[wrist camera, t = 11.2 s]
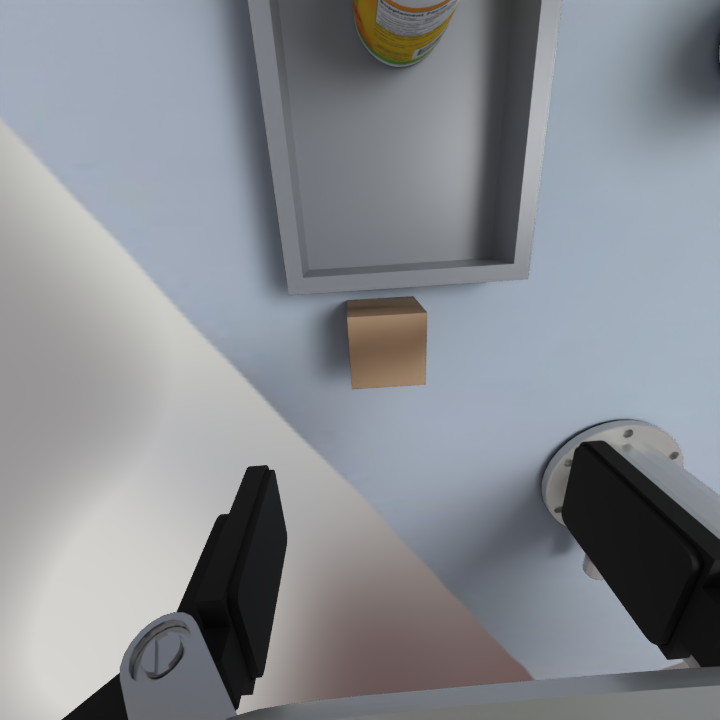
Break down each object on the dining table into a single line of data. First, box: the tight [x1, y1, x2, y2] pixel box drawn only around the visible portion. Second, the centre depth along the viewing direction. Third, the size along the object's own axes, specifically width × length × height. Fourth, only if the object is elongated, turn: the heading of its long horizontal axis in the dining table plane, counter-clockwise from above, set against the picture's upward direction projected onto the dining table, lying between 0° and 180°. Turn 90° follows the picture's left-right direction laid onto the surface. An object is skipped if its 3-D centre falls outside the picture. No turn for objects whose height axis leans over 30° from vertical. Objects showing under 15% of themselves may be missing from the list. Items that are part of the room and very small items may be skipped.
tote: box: [248, 0, 562, 295], centre depth 19 cm, size 22×15×4 cm
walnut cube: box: [347, 296, 427, 389], centre depth 25 cm, size 5×5×5 cm
